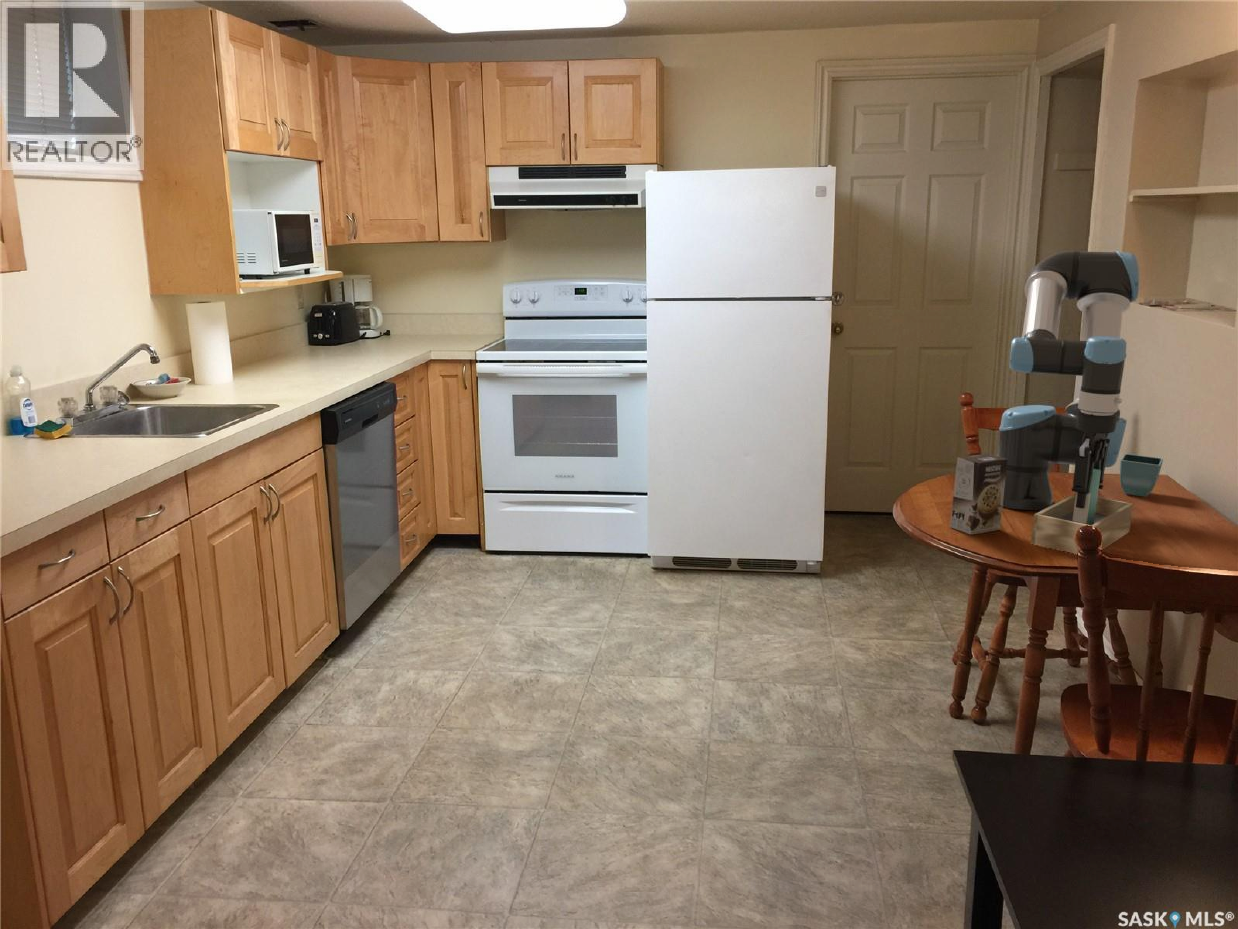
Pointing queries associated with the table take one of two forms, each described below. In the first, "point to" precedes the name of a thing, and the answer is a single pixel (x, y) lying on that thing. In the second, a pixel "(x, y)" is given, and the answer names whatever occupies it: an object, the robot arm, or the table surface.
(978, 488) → the coffee box
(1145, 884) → the table surface
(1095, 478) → the peg
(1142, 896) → the table surface
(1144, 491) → the flower pot
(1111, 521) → the crate
